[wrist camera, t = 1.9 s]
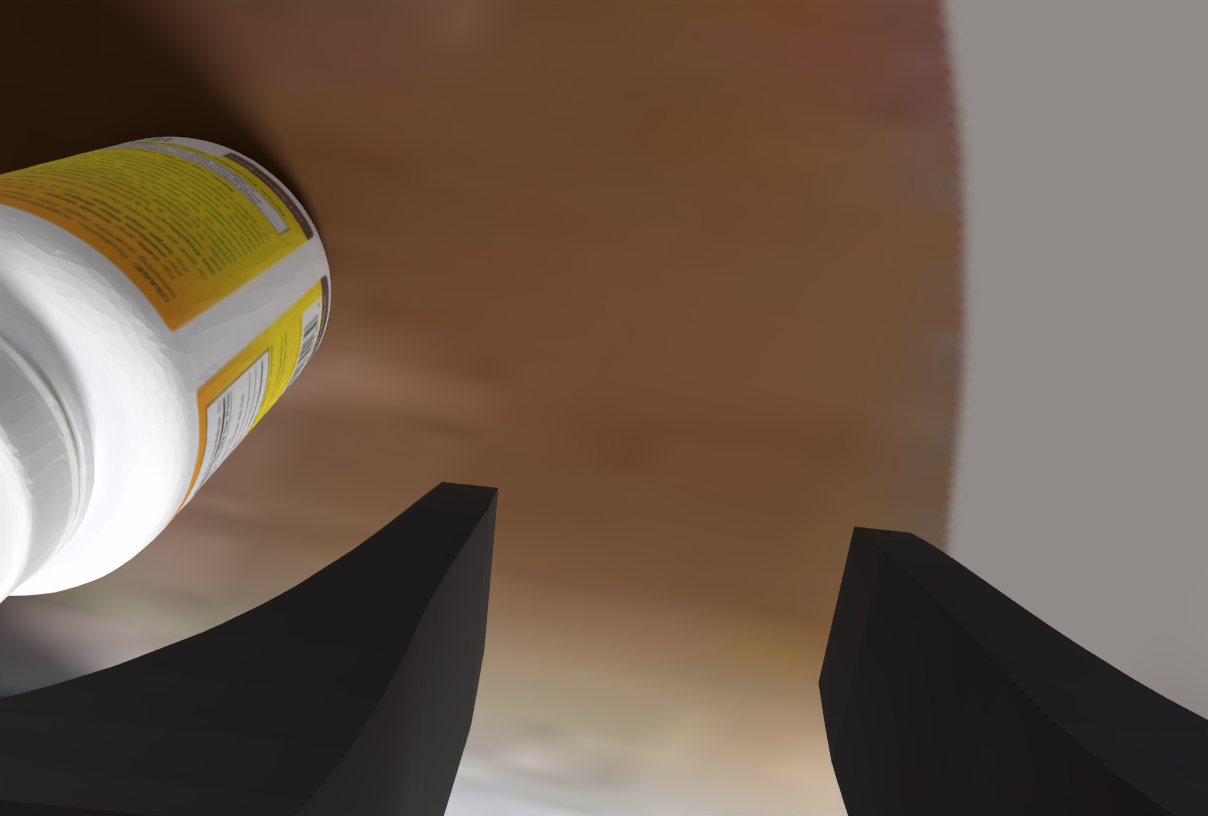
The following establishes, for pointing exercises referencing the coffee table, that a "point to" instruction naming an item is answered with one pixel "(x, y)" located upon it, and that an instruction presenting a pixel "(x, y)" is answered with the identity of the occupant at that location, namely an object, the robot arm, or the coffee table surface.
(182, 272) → the supplement bottle
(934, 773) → the robot arm
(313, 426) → the coffee table surface
